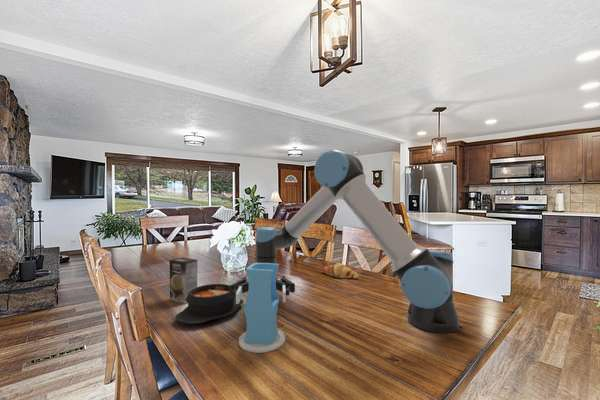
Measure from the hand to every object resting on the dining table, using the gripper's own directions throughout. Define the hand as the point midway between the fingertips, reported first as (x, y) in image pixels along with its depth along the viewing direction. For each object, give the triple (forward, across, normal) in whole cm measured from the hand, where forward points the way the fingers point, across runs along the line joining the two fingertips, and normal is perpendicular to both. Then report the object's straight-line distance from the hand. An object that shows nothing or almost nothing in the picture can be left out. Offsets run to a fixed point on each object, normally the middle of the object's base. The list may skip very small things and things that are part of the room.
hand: (260, 298), depth 77 cm
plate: (-4, 0, -13) cm, 14 cm away
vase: (-4, 0, -12) cm, 13 cm away
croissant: (-66, -36, -14) cm, 77 cm away
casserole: (-24, +19, -14) cm, 33 cm away
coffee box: (-39, +33, -14) cm, 53 cm away
